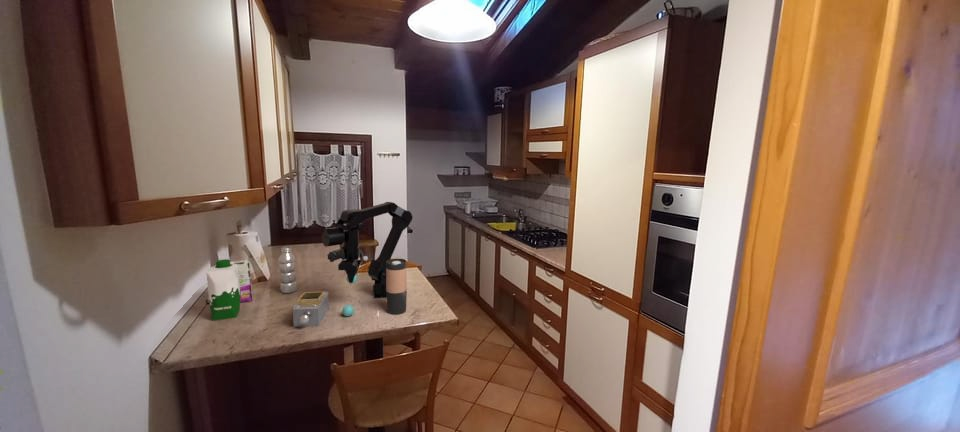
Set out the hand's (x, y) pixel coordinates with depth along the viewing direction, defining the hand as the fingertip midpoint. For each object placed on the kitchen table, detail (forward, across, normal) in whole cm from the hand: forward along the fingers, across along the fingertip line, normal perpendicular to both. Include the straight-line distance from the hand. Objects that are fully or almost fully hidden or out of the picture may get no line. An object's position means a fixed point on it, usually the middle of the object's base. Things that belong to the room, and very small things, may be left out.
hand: (352, 280), depth 133 cm
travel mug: (+10, +8, +18) cm, 22 cm away
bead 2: (+8, +10, 0) cm, 13 cm away
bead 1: (-1, 0, 0) cm, 1 cm away
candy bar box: (+10, -9, -46) cm, 48 cm away
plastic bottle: (+10, -17, -29) cm, 36 cm away
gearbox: (+10, +11, -12) cm, 19 cm away
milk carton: (+10, +4, -43) cm, 45 cm away
